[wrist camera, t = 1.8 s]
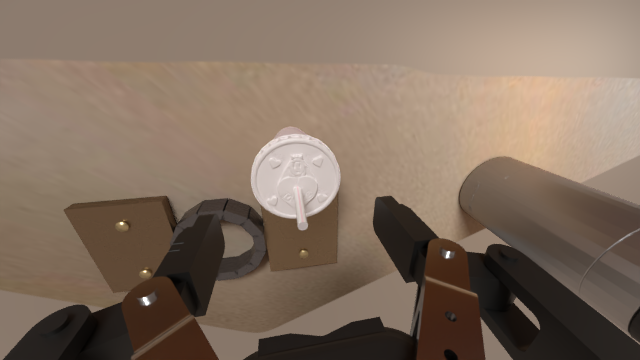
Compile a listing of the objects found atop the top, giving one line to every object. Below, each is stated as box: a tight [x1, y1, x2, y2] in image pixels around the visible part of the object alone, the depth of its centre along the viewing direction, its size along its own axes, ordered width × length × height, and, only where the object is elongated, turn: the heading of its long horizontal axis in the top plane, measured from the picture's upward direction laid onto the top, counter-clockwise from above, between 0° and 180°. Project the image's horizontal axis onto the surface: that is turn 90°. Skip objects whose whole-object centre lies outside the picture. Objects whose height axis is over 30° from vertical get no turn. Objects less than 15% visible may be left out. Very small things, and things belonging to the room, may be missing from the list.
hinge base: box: [64, 192, 338, 293], centre depth 27 cm, size 28×12×2 cm, turn 91°
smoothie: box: [251, 127, 340, 230], centre depth 18 cm, size 6×6×14 cm
